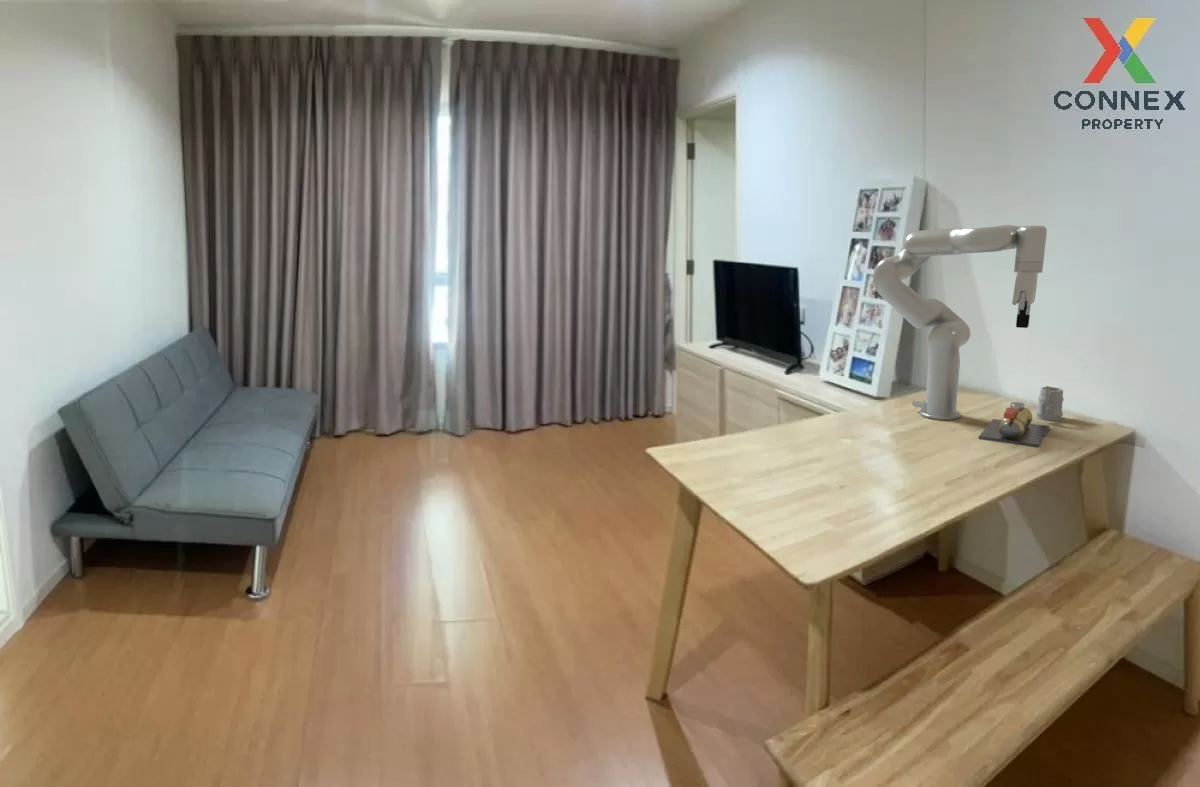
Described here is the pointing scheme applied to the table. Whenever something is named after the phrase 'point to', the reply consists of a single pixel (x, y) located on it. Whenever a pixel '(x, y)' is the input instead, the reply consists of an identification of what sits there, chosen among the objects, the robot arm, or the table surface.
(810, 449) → the table surface
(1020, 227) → the robot arm
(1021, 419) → the valve body
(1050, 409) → the mug
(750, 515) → the table surface
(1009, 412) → the lever
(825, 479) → the table surface
